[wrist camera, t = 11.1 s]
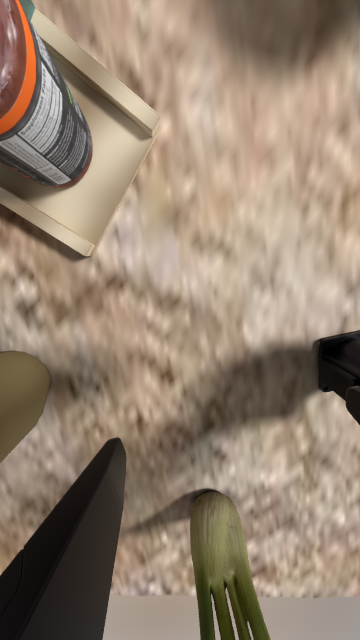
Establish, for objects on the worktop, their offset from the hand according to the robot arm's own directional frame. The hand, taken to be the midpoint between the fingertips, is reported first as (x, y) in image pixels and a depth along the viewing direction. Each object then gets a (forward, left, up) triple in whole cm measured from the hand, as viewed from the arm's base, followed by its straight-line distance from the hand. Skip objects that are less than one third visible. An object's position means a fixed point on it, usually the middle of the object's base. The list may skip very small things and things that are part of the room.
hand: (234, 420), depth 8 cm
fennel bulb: (+2, +25, -13) cm, 28 cm away
